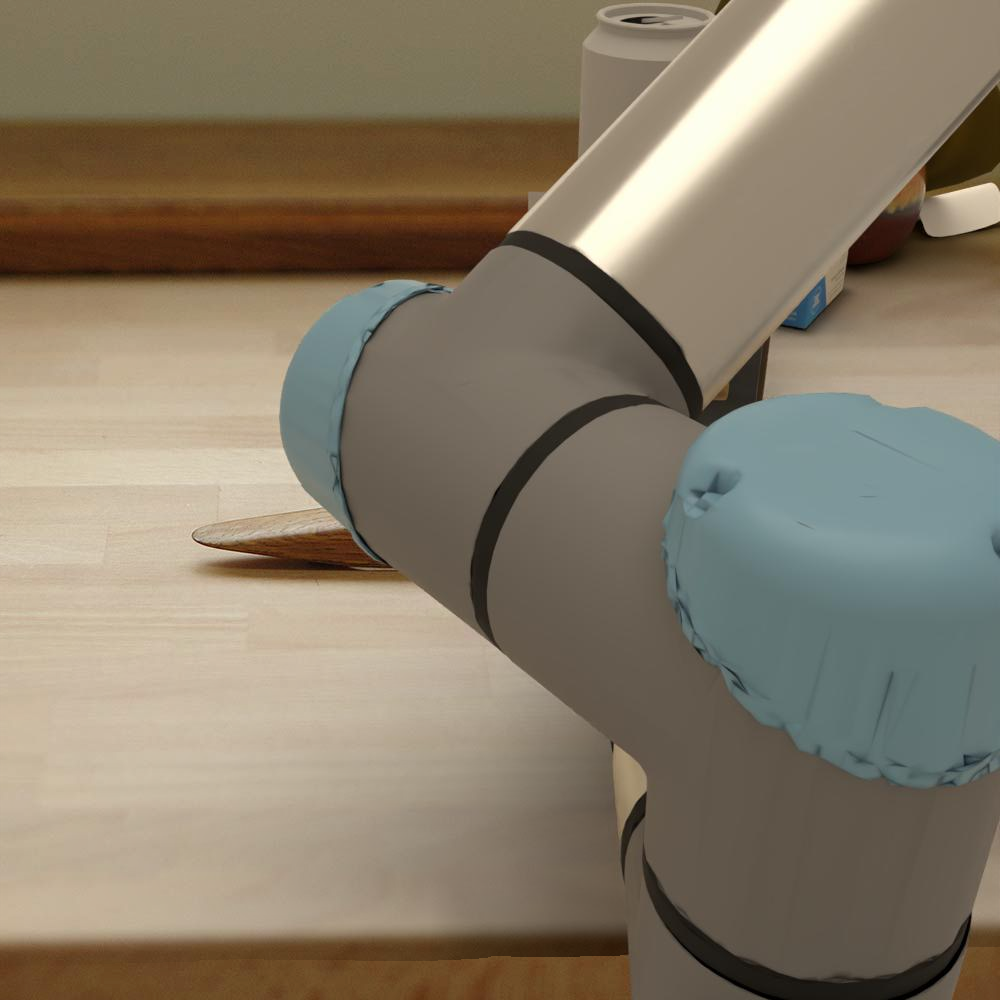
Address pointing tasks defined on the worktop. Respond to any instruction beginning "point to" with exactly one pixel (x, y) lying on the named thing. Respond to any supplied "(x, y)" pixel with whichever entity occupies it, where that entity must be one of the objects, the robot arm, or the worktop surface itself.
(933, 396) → the worktop surface
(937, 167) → the plate
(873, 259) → the vase
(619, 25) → the can
